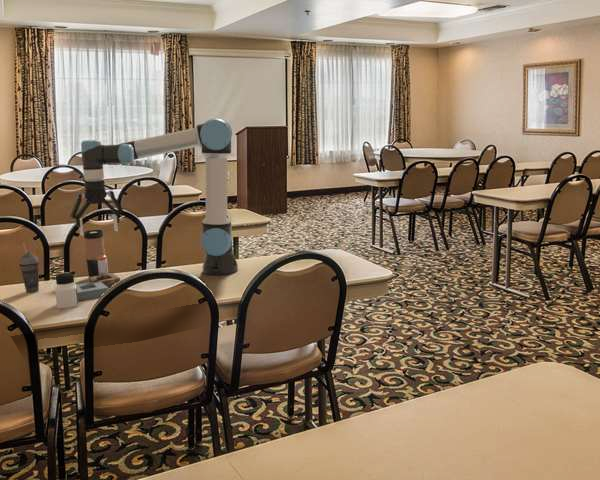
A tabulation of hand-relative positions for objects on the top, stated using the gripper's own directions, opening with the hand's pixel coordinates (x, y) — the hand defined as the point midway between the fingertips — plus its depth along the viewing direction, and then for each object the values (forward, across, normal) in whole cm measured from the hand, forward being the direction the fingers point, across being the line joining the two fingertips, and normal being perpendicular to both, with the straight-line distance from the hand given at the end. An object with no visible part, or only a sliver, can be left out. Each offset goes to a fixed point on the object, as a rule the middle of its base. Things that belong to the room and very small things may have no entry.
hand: (99, 233), depth 250 cm
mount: (+21, 0, 0) cm, 21 cm away
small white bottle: (+21, 0, 0) cm, 21 cm away
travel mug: (+22, -1, -14) cm, 26 cm away
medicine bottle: (+22, +19, +20) cm, 35 cm away
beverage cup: (+22, +26, -9) cm, 35 cm away
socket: (+21, +9, +10) cm, 25 cm away
